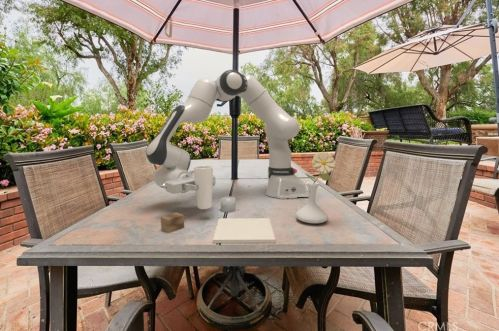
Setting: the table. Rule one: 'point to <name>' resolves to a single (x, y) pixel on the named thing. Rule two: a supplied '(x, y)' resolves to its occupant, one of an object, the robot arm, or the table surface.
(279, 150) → the robot arm
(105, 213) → the table surface
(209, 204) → the drinking glass
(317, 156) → the flower in vase
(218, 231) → the cream tile
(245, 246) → the table surface
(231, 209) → the grey plastic tub
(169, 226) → the walnut block
